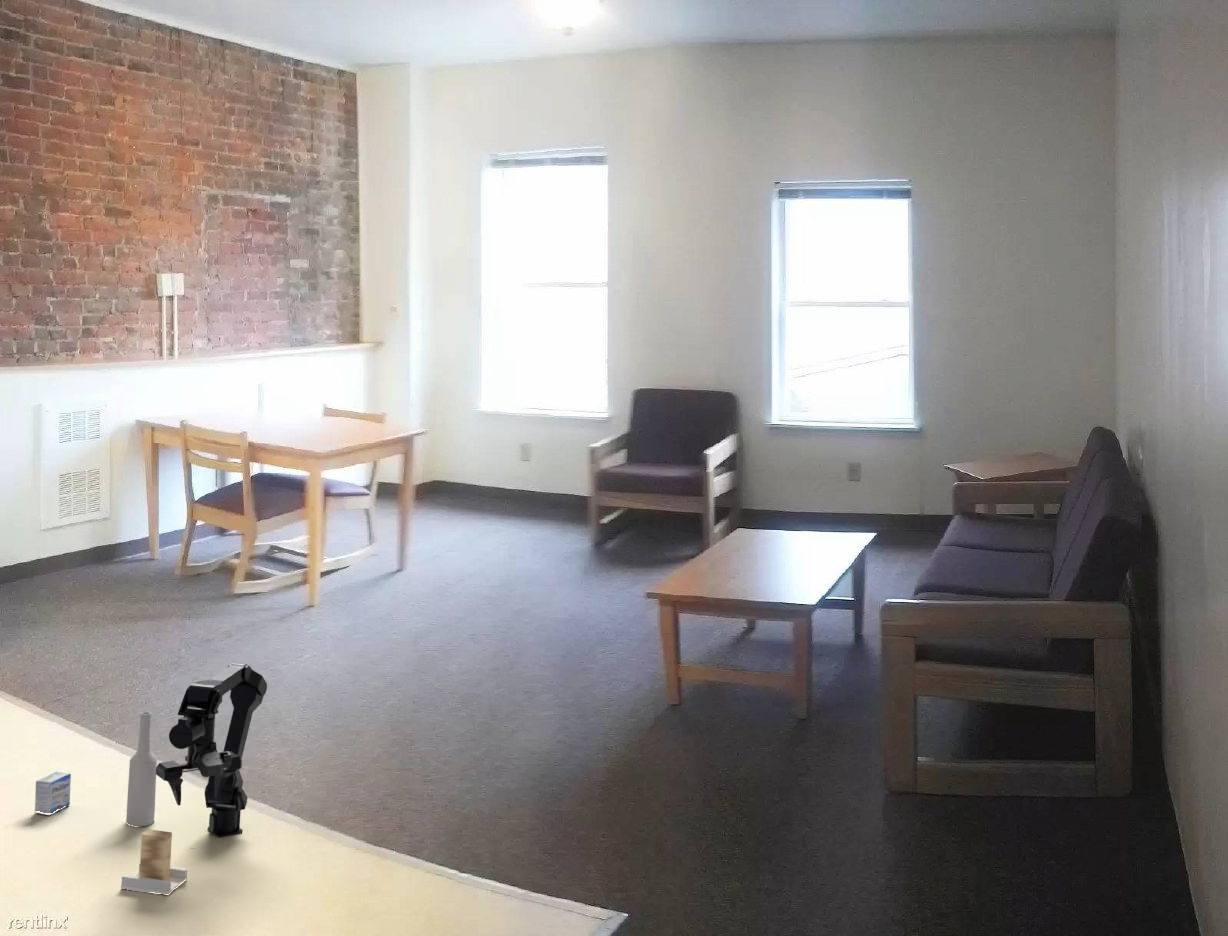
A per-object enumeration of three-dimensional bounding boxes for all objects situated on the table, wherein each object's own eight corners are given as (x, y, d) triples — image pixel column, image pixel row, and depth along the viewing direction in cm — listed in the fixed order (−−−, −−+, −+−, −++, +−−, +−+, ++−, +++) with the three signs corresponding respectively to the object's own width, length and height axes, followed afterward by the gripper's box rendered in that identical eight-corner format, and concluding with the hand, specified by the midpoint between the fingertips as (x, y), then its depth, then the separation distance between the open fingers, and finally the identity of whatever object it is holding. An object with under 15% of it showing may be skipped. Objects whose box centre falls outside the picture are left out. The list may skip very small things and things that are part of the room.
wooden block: (139, 882, 262) (141, 834, 261) (146, 877, 265) (148, 829, 264) (162, 886, 261) (165, 837, 260) (169, 880, 264) (171, 832, 263)
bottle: (159, 819, 300) (164, 710, 299) (146, 828, 294) (151, 717, 292) (134, 816, 301) (139, 708, 299) (120, 825, 295) (126, 715, 293)
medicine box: (49, 816, 297) (51, 782, 296) (33, 814, 298) (35, 780, 297) (70, 806, 305) (71, 773, 304) (54, 803, 305) (56, 770, 305)
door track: (120, 889, 260) (121, 877, 259) (141, 874, 268) (142, 862, 268) (167, 896, 258) (168, 883, 258) (186, 880, 266) (187, 868, 266)
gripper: (176, 752, 266) (172, 819, 267) (254, 740, 279) (250, 804, 280) (156, 738, 275) (153, 804, 276) (233, 727, 287) (229, 790, 288)
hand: (197, 801), depth 280 cm, fingers open, 9 cm apart
